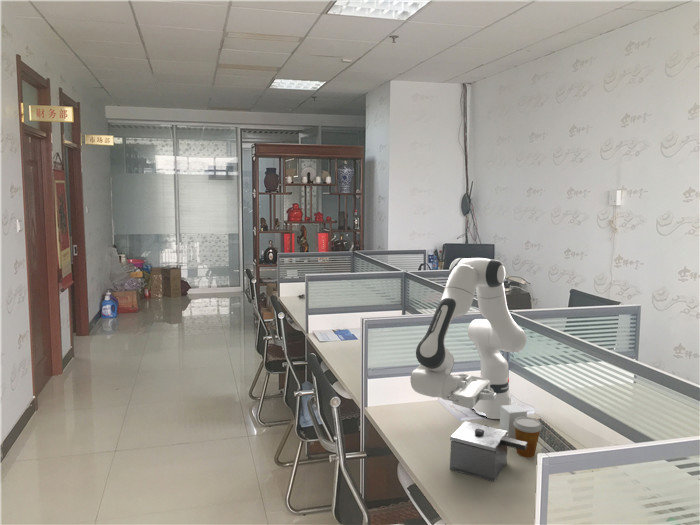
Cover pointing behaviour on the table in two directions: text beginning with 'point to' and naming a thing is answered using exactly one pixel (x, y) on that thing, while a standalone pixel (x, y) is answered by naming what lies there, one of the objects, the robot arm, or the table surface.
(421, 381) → the robot arm
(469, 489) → the table surface
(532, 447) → the disposable coffee cup
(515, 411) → the supplement box
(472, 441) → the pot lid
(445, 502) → the table surface
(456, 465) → the open gray square box
